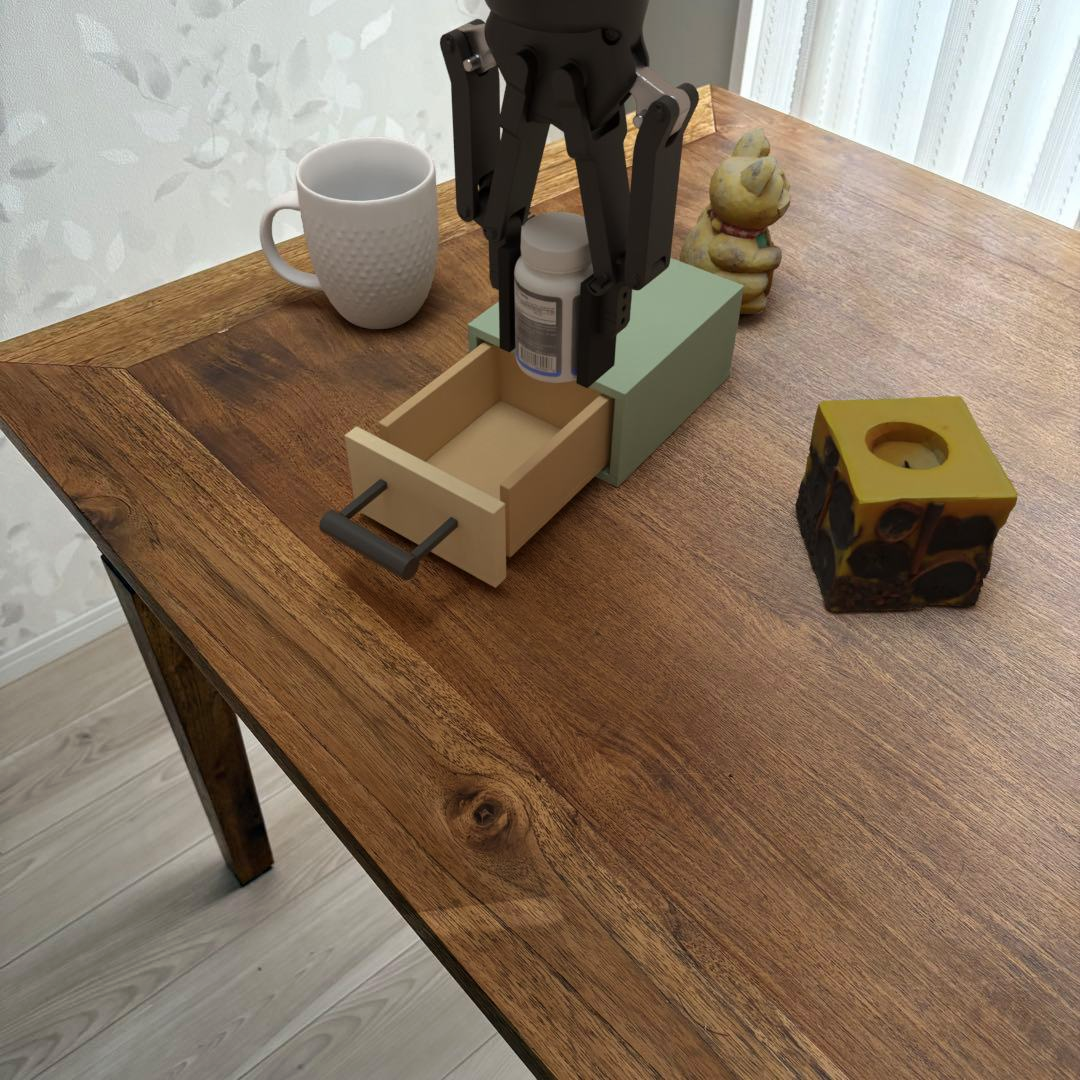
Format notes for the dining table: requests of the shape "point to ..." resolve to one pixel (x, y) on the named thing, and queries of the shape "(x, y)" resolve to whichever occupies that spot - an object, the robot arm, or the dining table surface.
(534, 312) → the pill bottle
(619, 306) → the robot arm
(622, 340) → the cabinet
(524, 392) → the drawer
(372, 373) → the dining table surface
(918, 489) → the candle
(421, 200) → the mug
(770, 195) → the decorative figurine
